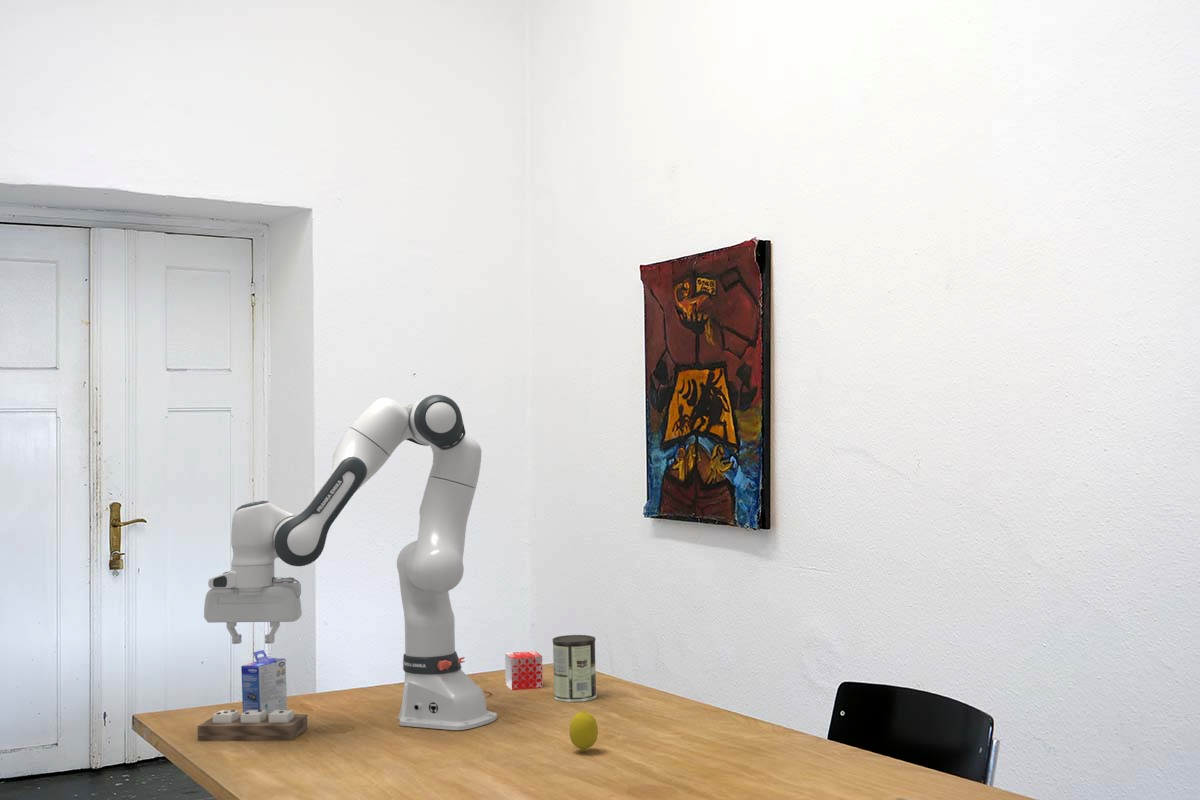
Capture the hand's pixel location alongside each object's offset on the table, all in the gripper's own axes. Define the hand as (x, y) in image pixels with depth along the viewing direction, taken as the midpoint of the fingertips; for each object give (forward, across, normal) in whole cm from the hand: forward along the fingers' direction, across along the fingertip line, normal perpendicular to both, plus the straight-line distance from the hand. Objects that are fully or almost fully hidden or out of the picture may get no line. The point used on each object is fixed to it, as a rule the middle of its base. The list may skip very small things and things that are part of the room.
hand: (253, 643), depth 238 cm
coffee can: (+19, -66, -34) cm, 76 cm away
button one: (+17, -6, 0) cm, 18 cm away
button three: (+17, +6, 0) cm, 18 cm away
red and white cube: (+20, -52, -48) cm, 73 cm away
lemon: (+19, -71, +14) cm, 75 cm away
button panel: (+19, 0, 0) cm, 19 cm away
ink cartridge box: (+19, +4, -17) cm, 26 cm away
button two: (+17, 0, 0) cm, 17 cm away
